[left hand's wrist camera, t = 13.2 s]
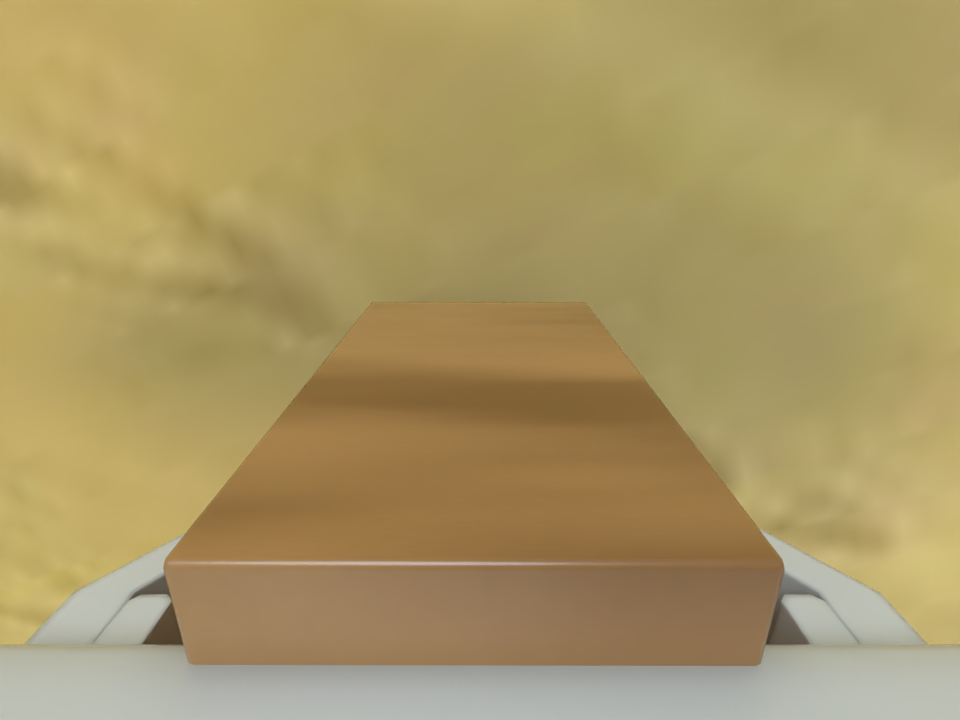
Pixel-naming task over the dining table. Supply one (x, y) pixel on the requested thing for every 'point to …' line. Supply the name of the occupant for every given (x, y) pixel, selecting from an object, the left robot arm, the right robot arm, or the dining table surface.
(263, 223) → the dining table surface
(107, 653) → the left robot arm
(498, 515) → the bar
